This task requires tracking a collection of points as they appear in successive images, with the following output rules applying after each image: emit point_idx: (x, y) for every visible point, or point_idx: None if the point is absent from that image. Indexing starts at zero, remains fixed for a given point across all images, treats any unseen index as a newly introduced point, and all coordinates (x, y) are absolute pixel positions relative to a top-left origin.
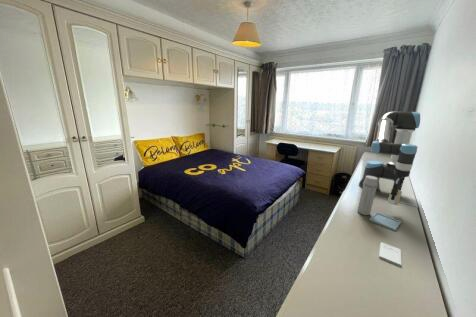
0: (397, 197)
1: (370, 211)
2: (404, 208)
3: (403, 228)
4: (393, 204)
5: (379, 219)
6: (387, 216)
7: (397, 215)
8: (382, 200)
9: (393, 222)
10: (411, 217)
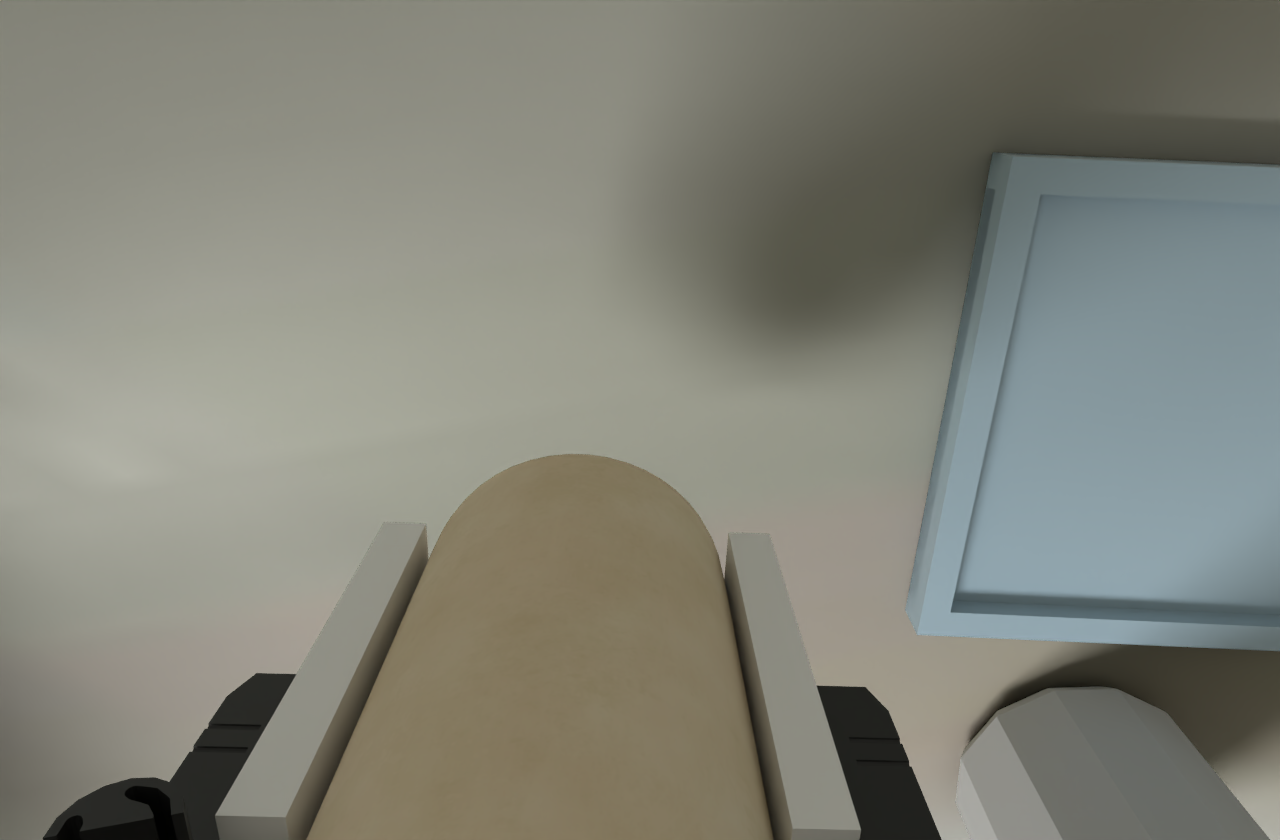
0: (728, 704)
1: (1105, 730)
2: (3, 239)
3: (1249, 56)
4: (769, 552)
5: (1211, 516)
6: (975, 438)
7: (608, 287)
8: (74, 661)
9: (1150, 283)
10: (411, 10)
